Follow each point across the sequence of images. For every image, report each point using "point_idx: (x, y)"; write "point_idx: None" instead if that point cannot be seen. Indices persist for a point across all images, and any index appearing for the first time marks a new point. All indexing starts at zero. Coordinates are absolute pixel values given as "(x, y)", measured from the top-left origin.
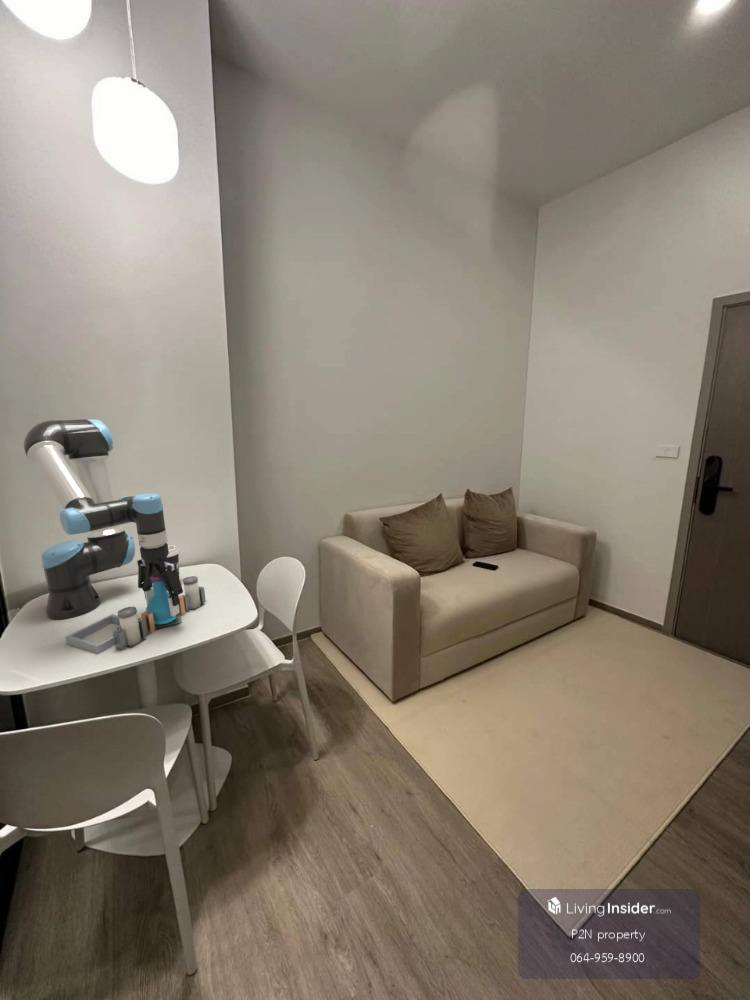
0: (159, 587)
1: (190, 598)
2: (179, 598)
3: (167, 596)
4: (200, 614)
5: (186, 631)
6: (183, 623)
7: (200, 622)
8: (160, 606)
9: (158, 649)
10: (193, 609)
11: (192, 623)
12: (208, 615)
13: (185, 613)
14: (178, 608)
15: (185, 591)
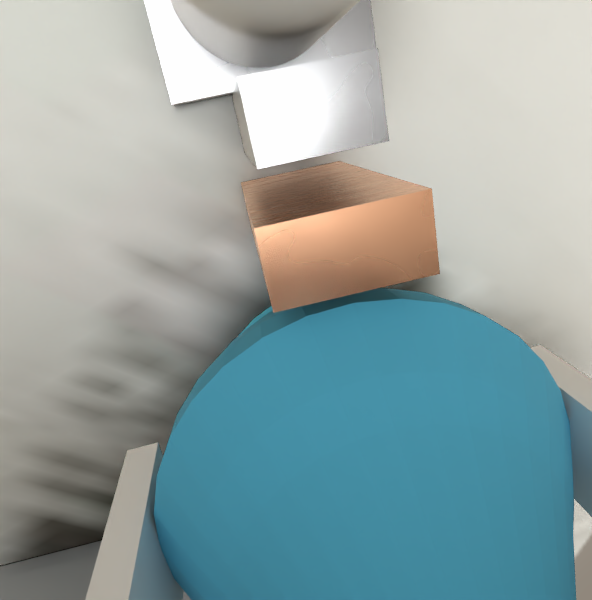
0: None
1: (345, 13)
2: (438, 272)
3: (574, 597)
4: (461, 50)
5: (585, 320)
6: (453, 264)
7: (588, 162)
8: None
9: (580, 527)
10: (344, 46)
11: (531, 217)
12: (562, 15)
13: (345, 164)
14: (582, 380)
15: (281, 17)
